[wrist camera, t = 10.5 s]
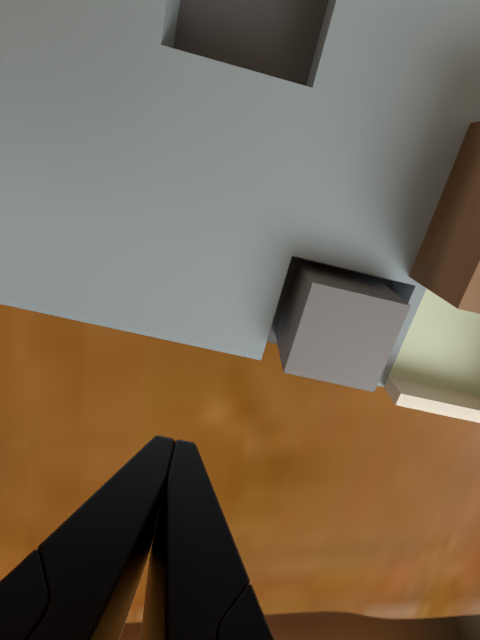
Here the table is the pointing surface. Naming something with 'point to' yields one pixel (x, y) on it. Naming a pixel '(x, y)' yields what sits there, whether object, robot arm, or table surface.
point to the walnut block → (455, 233)
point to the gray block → (338, 326)
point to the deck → (236, 166)
